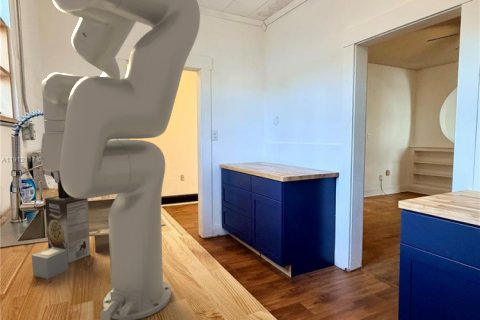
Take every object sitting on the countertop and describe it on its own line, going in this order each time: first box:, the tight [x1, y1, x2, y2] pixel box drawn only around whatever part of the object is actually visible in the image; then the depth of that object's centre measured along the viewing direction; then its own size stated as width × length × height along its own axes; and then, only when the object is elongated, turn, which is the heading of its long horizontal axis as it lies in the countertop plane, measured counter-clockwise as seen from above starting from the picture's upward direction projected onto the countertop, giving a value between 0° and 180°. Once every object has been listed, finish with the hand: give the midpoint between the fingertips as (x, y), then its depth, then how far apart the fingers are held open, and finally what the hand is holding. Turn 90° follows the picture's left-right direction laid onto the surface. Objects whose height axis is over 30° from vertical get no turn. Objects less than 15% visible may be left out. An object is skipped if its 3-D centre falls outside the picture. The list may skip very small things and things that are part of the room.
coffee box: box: [44, 195, 91, 264], centre depth 75 cm, size 9×6×16 cm
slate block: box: [31, 247, 69, 280], centre depth 67 cm, size 5×5×5 cm
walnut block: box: [93, 228, 110, 253], centre depth 81 cm, size 5×5×5 cm
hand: (65, 197), depth 75 cm, fingers closed
